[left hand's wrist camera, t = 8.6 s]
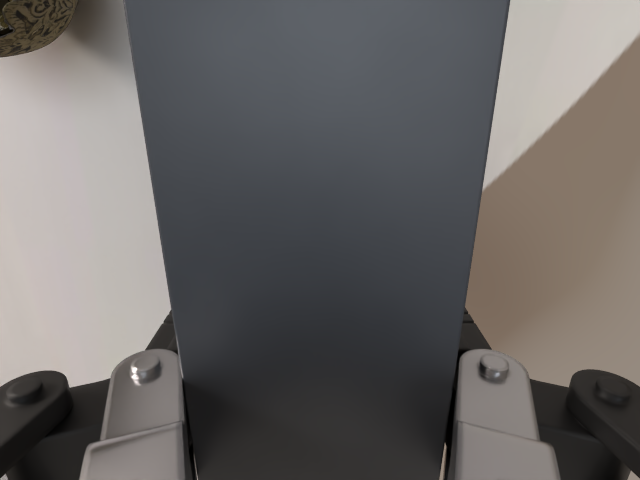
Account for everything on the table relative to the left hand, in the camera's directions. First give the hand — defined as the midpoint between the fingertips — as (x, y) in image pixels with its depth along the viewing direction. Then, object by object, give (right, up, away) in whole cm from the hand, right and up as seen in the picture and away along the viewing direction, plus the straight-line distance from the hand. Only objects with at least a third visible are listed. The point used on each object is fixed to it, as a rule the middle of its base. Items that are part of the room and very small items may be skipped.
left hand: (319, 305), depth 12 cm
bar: (0, +10, 0) cm, 10 cm away
